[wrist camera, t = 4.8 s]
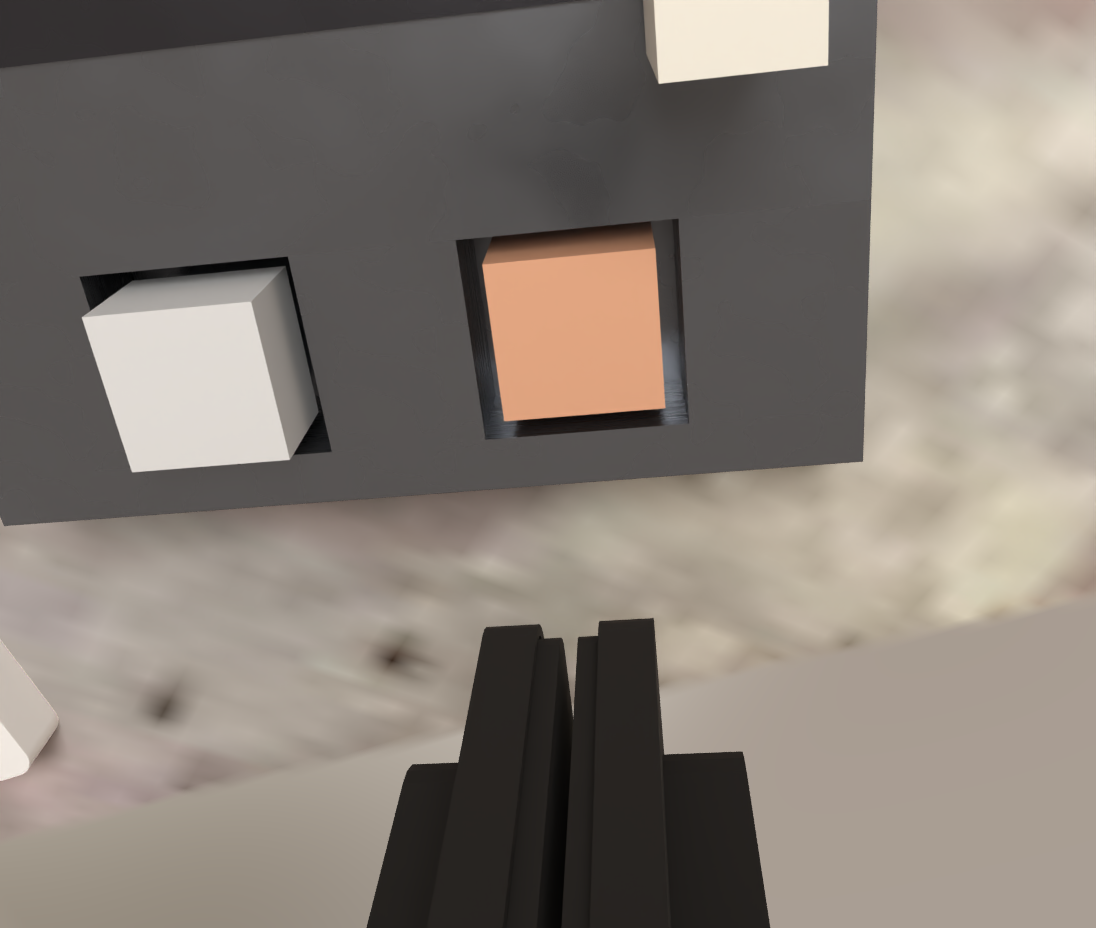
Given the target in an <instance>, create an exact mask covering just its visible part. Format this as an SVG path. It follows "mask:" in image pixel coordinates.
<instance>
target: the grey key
mask: <svg viewBox="0 0 1096 928" xmlns="http://www.w3.org/2000/svg"><path fill="white" fill-rule="evenodd" d="M82 320H83V323H84V326H85V329H86V332H87V335H88V338H89V341H90V344H91V348H92V351H93V354H94V357H95V360H96V363H97V366H98V369H99V372H100V375H101V378H102V381H103V384H104V388H105V391H106V394H107V397H108V400H109V403H110V406H111V409H112V412H113V415H114V418H115V421H116V424H117V428H118V431H119V434H120V437H121V440H122V443H123V446H124V449H125V452H126V455H127V458H128V461H129V464H130V468H131V471H132V472H143V471H155V470H168V469H181V468H193V467H206V466H219V465H231V464H244V463H256V462H269V461H282V460H290V459H291V457H292V456H293V454H294V452H295V451H296V449H297V447H298V446H299V444H300V442H301V441H302V439H303V437H304V436H305V434H306V432H307V431H308V429H309V427H310V426H311V424H312V422H313V421H314V419H315V417H316V416H317V414H318V412H319V411H318V407H317V402H316V398H315V394H314V389H313V385H312V380H311V376H310V372H309V367H308V363H307V358H306V354H305V350H304V345H303V341H302V336H301V332H300V328H299V323H298V319H297V314H296V310H295V306H294V301H293V297H292V292H291V288H290V284H289V279H288V275H287V270H286V266H280V267H270V268H260V269H249V270H239V271H228V272H218V273H208V274H197V275H187V276H177V277H166V278H156V279H145V280H135V281H131V282H130V283H128V284H127V285H126V286H124V287H123V288H122V289H120V290H119V291H117V292H116V293H115V294H113V295H112V296H111V297H109V298H108V299H106V300H105V301H104V302H102V303H101V304H100V305H98V306H97V307H95V308H94V309H93V310H91V311H90V312H89V313H87V314H86V315H84V316H83V317H82Z"/></svg>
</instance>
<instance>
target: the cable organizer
mask: <svg viewBox="0 0 1096 928" xmlns="http://www.w3.org/2000/svg"><path fill="white" fill-rule="evenodd" d="M58 724H59V718H58V715H57V714H56V712H55V711H54V709H53V708H52V707H51V705H50V704H49V703H48V701H47V700H46V699H45V697H44V696H43V695H42V693H41V692H40V691H39V689H38V688H37V687H36V686H35V684H34V683H33V682H32V680H31V679H30V678H29V676H28V675H27V674H26V672H25V671H24V670H23V668H22V667H21V666H20V664H19V663H18V662H17V660H16V659H15V658H14V656H13V655H12V654H11V653H10V651H9V650H8V649H7V647H6V646H5V645H4V643H3V642H2V641H1V639H0V781H3V780H6V779H9V778H13V777H16V776H19V775H22V774H24V773H25V772H26V771H27V770H28V769H29V767H30V766H31V764H32V763H33V762H34V760H35V759H36V757H37V756H38V754H39V753H40V751H41V750H42V749H43V747H44V746H45V744H46V743H47V741H48V740H49V738H50V737H51V736H52V734H53V733H54V731H55V730H56V728H57V727H58Z"/></svg>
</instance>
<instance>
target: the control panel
mask: <svg viewBox="0 0 1096 928" xmlns="http://www.w3.org/2000/svg"><path fill="white" fill-rule="evenodd" d="M876 29H877V0H829V32H828V65H827V66H818V67H809V68H800V69H790V70H781V71H772V72H763V73H754V74H744V75H735V76H726V77H717V78H708V79H698V80H689V81H680V82H671V83H662V84H659V83H658V81H657V79H656V76H655V74H654V71H653V69H652V67H651V64H650V62H649V59H648V57H647V55H646V41H645V25H644V8H643V0H0V517H1V519H2V522H3V524H4V526H10V525H24V524H37V523H50V522H64V521H77V520H90V519H104V518H117V517H130V516H144V515H157V514H170V513H183V512H197V511H210V510H223V509H237V508H250V507H263V506H277V505H290V504H303V503H317V502H330V501H343V500H357V499H370V498H383V497H396V496H410V495H423V494H436V493H450V492H463V491H476V490H490V489H503V488H516V487H530V486H543V485H556V484H570V483H583V482H596V481H609V480H623V479H636V478H649V477H663V476H676V475H689V474H703V473H716V472H729V471H743V470H756V469H769V468H783V467H796V466H809V465H823V464H836V463H849V462H862V461H863V442H864V410H865V379H866V347H867V315H868V283H869V251H870V220H871V188H872V156H873V124H874V93H875V61H876ZM648 221H651V227H652V232H653V238H654V243H655V250H656V266H657V282H658V298H659V314H660V330H661V346H662V362H663V378H664V394H665V408H663V409H651V410H638V411H626V412H613V413H601V414H589V415H576V416H564V417H552V418H539V419H527V420H515V421H504V416H503V409H502V402H501V395H500V388H499V381H498V373H497V366H496V359H495V352H494V345H493V338H492V331H491V323H490V316H489V309H488V302H487V295H486V288H485V281H484V273H483V266H482V264H483V261H484V259H485V256H486V253H487V250H488V247H489V245H490V242H491V239H492V237H493V236H503V235H514V234H524V233H534V232H545V231H555V230H565V229H576V228H586V227H596V226H607V225H617V224H627V223H637V222H648ZM280 266H286V270H287V275H288V279H289V284H290V288H291V292H292V297H293V301H294V306H295V310H296V314H297V319H298V323H299V328H300V332H301V336H302V341H303V345H304V350H305V354H306V358H307V363H308V367H309V372H310V376H311V380H312V385H313V389H314V394H315V398H316V402H317V407H318V411H319V412H318V414H317V416H316V417H315V419H314V421H313V422H312V424H311V426H310V427H309V429H308V431H307V432H306V434H305V436H304V437H303V439H302V441H301V442H300V444H299V446H298V447H297V449H296V451H295V452H294V454H293V456H292V457H291V459H290V460H282V461H269V462H256V463H244V464H231V465H219V466H206V467H193V468H181V469H168V470H155V471H143V472H132V471H131V468H130V464H129V461H128V458H127V455H126V452H125V449H124V446H123V443H122V440H121V437H120V434H119V431H118V428H117V424H116V421H115V418H114V415H113V412H112V409H111V406H110V403H109V400H108V397H107V394H106V391H105V388H104V384H103V381H102V378H101V375H100V372H99V369H98V366H97V363H96V360H95V357H94V354H93V351H92V348H91V344H90V341H89V338H88V335H87V332H86V329H85V326H84V323H83V320H82V317H83V316H84V315H86V314H87V313H89V312H90V311H91V310H93V309H94V308H95V307H97V306H98V305H100V304H101V303H102V302H104V301H105V300H106V299H108V298H109V297H111V296H112V295H113V294H115V293H116V292H117V291H119V290H120V289H122V288H123V287H124V286H126V285H127V284H128V283H130V282H131V281H135V280H145V279H156V278H166V277H177V276H187V275H197V274H208V273H218V272H228V271H239V270H249V269H260V268H270V267H280Z"/></svg>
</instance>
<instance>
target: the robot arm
mask: <svg viewBox="0 0 1096 928" xmlns="http://www.w3.org/2000/svg"><path fill="white" fill-rule="evenodd" d="M662 735H663V734H662V721H661V709H660V694H659V681H658V668H657V655H656V642H655V629H654V619H653V618H650V619H632V620H613V621H599V628H598V636H589V637H579V638H578V646H577V664H576V681H575V699H574V716H573V713H572V705H571V697H570V689H569V681H568V673H567V665H566V657H565V650H564V643H563V639H562V638H550V639H544V636H543V631H542V628H541V626H540V624H537V625H518V626H499V627H486V628H485V630H484V633H483V637H482V642H481V647H480V652H479V658H478V663H477V668H476V673H475V679H474V684H473V689H472V694H471V699H470V705H469V710H468V715H467V720H466V725H465V731H464V736H463V741H462V747H461V751H460V757H459V762H458V763H439V764H417V765H416V764H413V765H412V766H411V767H410V768H409V770H408V771H407V773H406V776H405V779H404V782H403V785H402V789H401V793H400V797H399V801H398V805H397V809H396V813H395V817H394V821H393V825H392V829H391V833H390V837H389V841H388V845H387V849H386V853H385V857H384V861H383V865H382V869H381V873H380V877H379V881H378V885H377V889H376V892H375V896H374V901H373V905H372V909H371V912H370V916H369V920H368V924H367V928H770V924H769V917H768V910H767V903H766V897H765V890H764V884H763V877H762V871H761V865H760V857H759V851H758V844H757V838H756V831H755V824H754V818H753V811H752V805H751V798H750V791H749V785H748V779H747V772H746V766H745V761H744V756H743V752H721V753H694V754H669V755H664V748H663V736H662Z"/></svg>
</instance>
